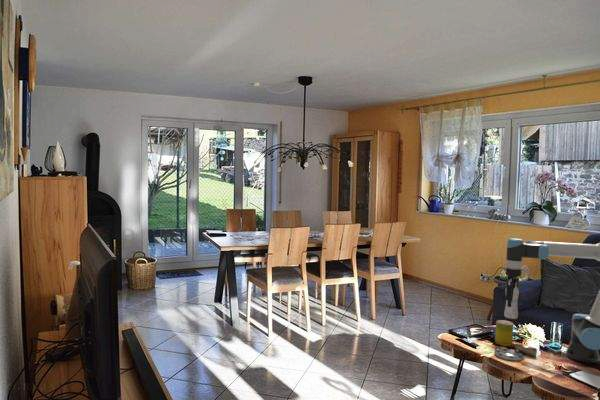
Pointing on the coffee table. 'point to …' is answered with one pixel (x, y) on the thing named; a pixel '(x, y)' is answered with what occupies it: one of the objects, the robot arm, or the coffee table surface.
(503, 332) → the yellow cylinder
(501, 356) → the flange
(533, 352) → the grey rectangular block
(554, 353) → the coffee table surface
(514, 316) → the plastic bottle
